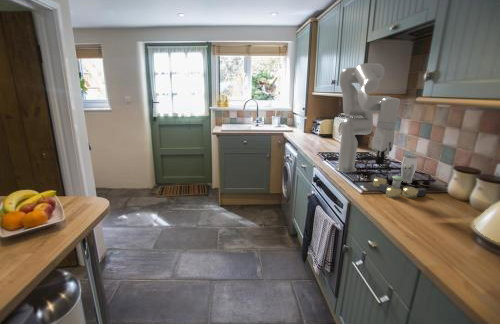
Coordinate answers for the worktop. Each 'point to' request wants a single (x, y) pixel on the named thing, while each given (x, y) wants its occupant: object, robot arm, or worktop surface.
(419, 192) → the knob
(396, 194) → the knob
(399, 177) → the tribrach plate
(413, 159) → the beer glass
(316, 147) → the worktop surface
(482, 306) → the worktop surface
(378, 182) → the knob left
